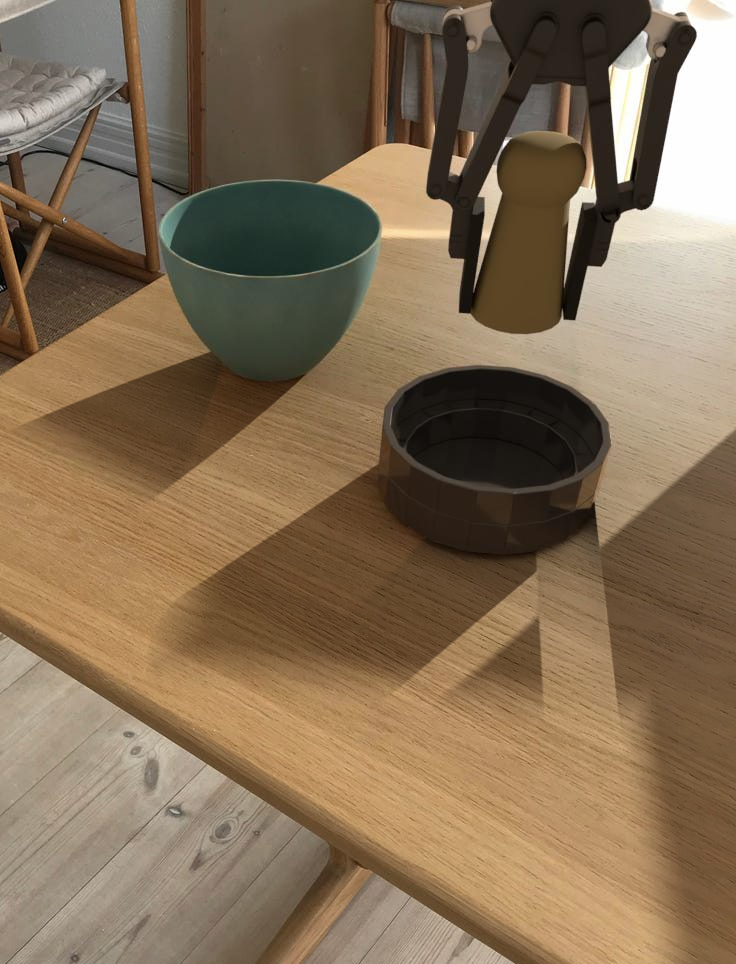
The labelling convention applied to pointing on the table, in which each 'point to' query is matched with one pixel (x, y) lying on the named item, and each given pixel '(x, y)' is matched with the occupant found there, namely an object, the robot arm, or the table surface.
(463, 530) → the bowl
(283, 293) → the teal green deep bowl
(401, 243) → the table surface
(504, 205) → the yellow pawn
